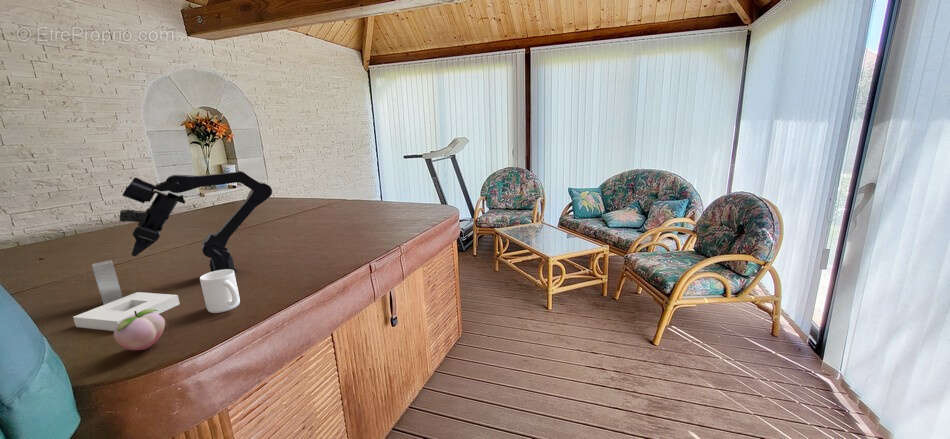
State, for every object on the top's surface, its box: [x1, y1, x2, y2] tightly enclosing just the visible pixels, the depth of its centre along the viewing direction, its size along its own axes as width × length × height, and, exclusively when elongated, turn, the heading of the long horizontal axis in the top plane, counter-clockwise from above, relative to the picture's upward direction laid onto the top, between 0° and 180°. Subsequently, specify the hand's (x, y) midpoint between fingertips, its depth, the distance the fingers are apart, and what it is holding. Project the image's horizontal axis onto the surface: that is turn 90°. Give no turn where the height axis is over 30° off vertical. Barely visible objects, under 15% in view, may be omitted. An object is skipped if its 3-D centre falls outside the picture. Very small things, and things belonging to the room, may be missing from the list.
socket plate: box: [72, 291, 180, 332], centre depth 106 cm, size 16×16×3 cm
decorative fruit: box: [113, 309, 166, 351], centre depth 87 cm, size 9×8×10 cm
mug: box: [199, 269, 241, 314], centre depth 107 cm, size 12×8×10 cm
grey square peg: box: [91, 259, 124, 305], centre depth 114 cm, size 4×4×13 cm
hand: (135, 252), depth 120 cm, fingers open, 9 cm apart
